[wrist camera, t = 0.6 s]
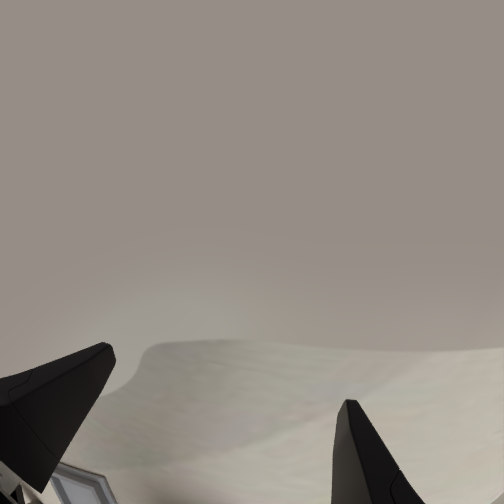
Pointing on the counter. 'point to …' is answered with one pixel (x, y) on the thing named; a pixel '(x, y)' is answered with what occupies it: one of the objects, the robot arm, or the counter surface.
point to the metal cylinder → (35, 502)
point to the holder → (80, 486)
